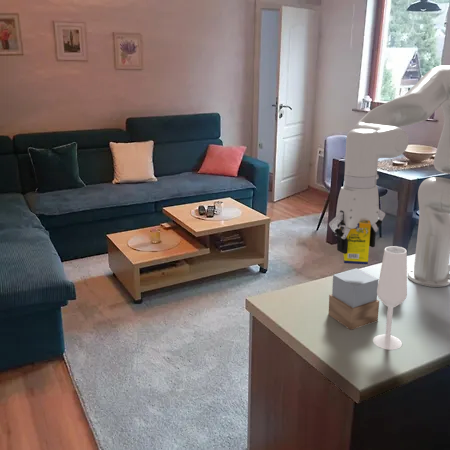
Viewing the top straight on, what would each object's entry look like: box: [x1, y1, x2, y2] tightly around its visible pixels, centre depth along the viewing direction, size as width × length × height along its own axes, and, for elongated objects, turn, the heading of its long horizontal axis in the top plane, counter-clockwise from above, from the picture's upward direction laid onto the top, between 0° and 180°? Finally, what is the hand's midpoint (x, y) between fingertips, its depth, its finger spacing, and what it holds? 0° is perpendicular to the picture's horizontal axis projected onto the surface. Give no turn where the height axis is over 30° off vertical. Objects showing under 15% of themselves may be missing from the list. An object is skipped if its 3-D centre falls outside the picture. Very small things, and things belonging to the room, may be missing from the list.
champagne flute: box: [372, 245, 408, 351], centre depth 115 cm, size 7×7×24 cm
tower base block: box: [328, 293, 380, 330], centre depth 129 cm, size 9×9×6 cm
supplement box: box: [342, 221, 371, 265], centre depth 123 cm, size 6×6×11 cm
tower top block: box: [331, 267, 379, 308], centre depth 127 cm, size 8×8×6 cm
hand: (355, 248), depth 124 cm, fingers closed on supplement box, 8 cm apart
